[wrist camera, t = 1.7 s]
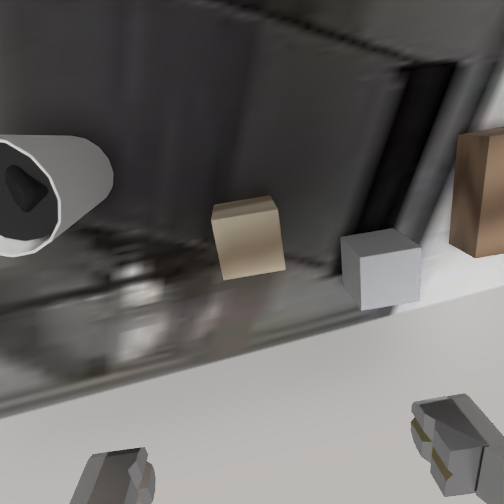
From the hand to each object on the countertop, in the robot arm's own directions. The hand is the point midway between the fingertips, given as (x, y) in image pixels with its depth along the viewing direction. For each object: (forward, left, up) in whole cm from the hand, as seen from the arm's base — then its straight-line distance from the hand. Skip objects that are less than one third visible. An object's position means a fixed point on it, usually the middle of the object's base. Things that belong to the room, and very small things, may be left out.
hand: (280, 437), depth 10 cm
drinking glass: (-7, -13, -21) cm, 26 cm away
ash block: (0, 0, -21) cm, 21 cm away
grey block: (+5, +11, -21) cm, 24 cm away
